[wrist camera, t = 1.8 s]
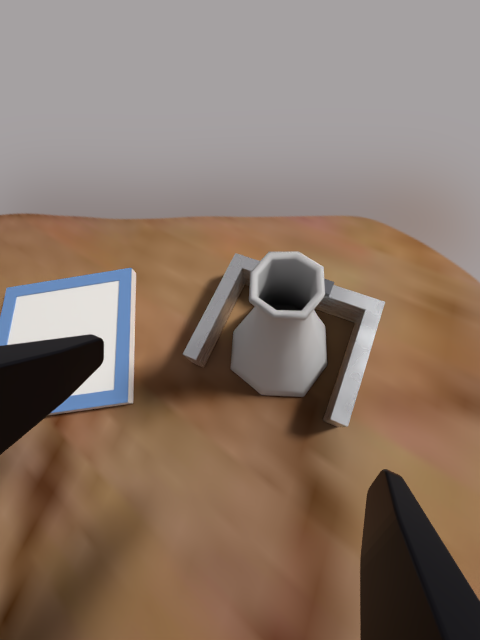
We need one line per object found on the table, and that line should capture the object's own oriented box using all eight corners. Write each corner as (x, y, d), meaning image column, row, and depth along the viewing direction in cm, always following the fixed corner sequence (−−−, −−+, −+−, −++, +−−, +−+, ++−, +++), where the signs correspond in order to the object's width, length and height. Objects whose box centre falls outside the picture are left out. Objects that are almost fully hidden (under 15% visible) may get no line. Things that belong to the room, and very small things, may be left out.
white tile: (-12, 423, 21) (-24, 423, 20) (15, 292, 25) (6, 287, 24) (133, 403, 20) (127, 402, 19) (136, 273, 24) (131, 267, 23)
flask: (214, 377, 20) (170, 332, 11) (250, 293, 23) (237, 197, 13) (312, 415, 19) (355, 400, 10) (339, 321, 21) (396, 234, 12)
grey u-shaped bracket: (337, 427, 18) (349, 426, 16) (192, 362, 21) (180, 352, 18) (372, 316, 21) (387, 299, 18) (238, 270, 23) (234, 250, 21)
